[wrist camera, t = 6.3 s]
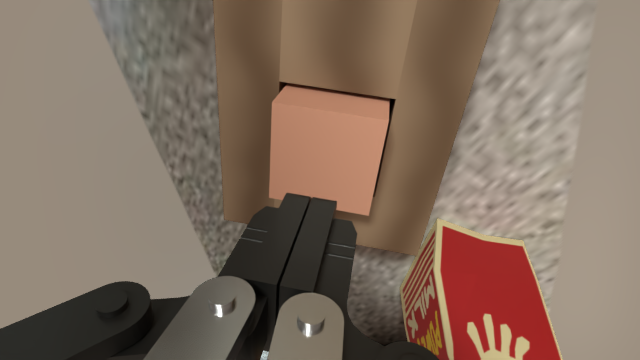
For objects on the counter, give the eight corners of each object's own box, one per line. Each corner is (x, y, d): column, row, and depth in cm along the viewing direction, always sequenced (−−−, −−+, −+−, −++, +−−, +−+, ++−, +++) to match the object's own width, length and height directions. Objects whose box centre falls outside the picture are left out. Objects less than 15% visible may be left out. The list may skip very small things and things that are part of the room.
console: (252, 174, 33) (224, 219, 27) (253, -326, 18) (190, -451, 12) (413, 203, 31) (417, 256, 26) (559, -310, 16) (642, -443, 11)
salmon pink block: (285, 165, 26) (268, 197, 22) (290, 79, 22) (271, 102, 19) (372, 180, 25) (368, 215, 22) (389, 94, 22) (388, 120, 18)
